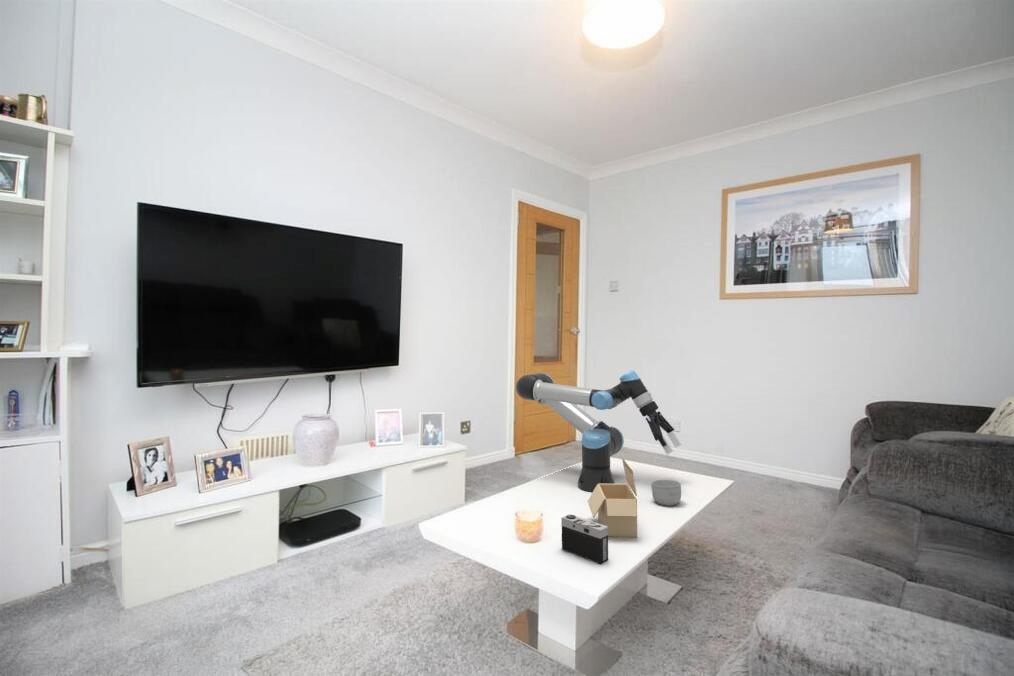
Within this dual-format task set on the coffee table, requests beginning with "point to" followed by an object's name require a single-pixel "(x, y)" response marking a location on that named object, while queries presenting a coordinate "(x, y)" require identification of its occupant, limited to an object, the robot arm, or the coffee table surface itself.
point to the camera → (585, 538)
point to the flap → (629, 476)
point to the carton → (615, 509)
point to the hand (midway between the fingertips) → (674, 449)
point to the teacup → (666, 491)
